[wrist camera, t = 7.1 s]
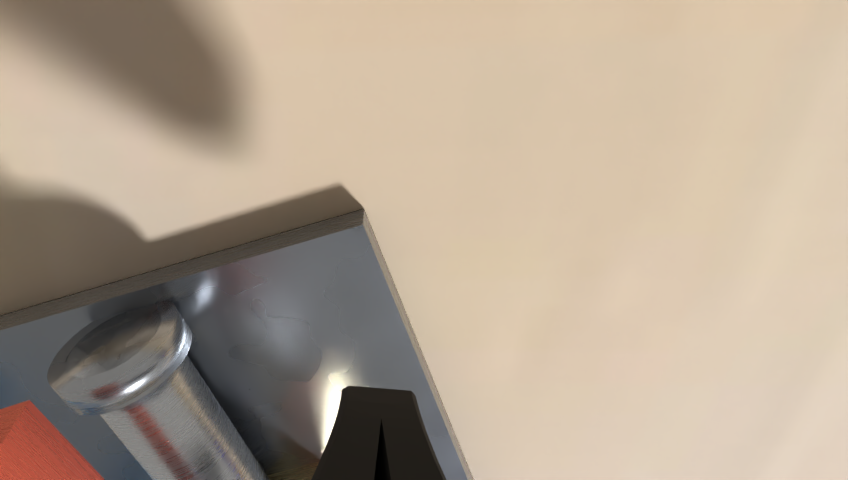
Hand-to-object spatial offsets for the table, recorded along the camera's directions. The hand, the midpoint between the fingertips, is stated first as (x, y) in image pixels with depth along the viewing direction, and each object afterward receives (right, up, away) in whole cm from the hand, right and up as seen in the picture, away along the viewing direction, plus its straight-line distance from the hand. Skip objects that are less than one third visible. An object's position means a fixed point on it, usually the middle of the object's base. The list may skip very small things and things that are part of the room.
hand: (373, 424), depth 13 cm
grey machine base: (-4, -5, +9) cm, 12 cm away
